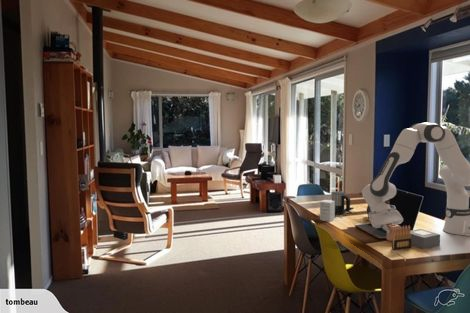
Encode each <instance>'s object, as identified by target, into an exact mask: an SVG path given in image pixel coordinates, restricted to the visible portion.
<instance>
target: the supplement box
mask: <svg viewBox="0 0 470 313" xmlns="http://www.w3.org/2000/svg"><path fill="white" fill-rule="evenodd" d="M335 216H336V214H335V201H332V199H322V200H321V201H319V220H320V221H324V222H329V223H330V222H332V221H335Z"/></svg>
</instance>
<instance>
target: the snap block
mask: <svg viewBox="0 0 470 313" xmlns="http://www.w3.org/2000/svg"><path fill="white" fill-rule="evenodd" d="M397 226H398V227H399V228H400V226H401V225H400V224H398V225H395V224H389V225H387V228H388V229H390V230H391V231H392V232H391V233H389V234H388V233H387V232H386V240H388V241H389V242H390V241H391V242H392V239H393V232H394V227H396V230H397Z"/></svg>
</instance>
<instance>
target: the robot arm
mask: <svg viewBox="0 0 470 313" xmlns="http://www.w3.org/2000/svg"><path fill="white" fill-rule="evenodd" d="M396 138H397V139H396V140H395V143H394V145H393V147H392V149H391V151H390V153H388V156H387V157H386V159H385V160H384V162H383V163H382V166H381V167H380V170H379V171H378V173H377V174H376V176H375V177H374V178H373V179H372V180H371V181H370V183H369V184H367V185H365V186H364V187H363V188H362V190H361V194H362V198H363V200H364V201H365V203H366V204H367V206H368V205H369V206H370V209H371V211H372V212H369V213H368V214H367V218H368V217H369V219H370V220H369V219H368V220H369V222H370V224H371V225H372V228H374V229H379V228H382V229H383V230H384V231H386V234H387V233H388V234H389V233H391V232H392V231H391V230H390V229H388V228H387V225H389V224H395V225H401V224H402V223H403V222H404V218H403V215H401V213H400V211H398V210H397V208H396V205H393V204H392V205H391V204H390V203H389V204H386V203H385V201H387V200H389V201H390V200H391V199H393V198H394V197H395V196H396V195H397V191H398V190H397V187H396V185H395V184H393V183H391V182H390V178H391V177H392V175H393V172H394V171H395V169H396V168H397V167H398V166H399V165H402V164H406V163H407V162H410V161H411V158H412V157H413V155H414V153H415V150H416V148H417V146H418V144H419V143H433V144H434V147H435V150H436V152H437V154H438V156H439V158H440V161H441V162H442V164H443V163H444V165H443V166H441V167H440V170H439V176H440V178H441V179H442V181H443V183H444V186H445V191H446V207H445V221H444V224H443V228H442V231H443V232H444V233H448V234H452V235H460V236H461V235H462V236H464V237H465V236H466V237H470V208H469V206H470V195H469V193H468V192H467V190H466V188H465V187H469V186H470V162H469V161H468V160H467V159H466V157H465V156H464V154H463V153H462V151H461V148H460V146H459V144H458V142H457V140H456V137H455V135H454V134H453V132H452V131H451V130H450V128H449V127H447V126H441V125H440V124H438V123H435V122H421V123H420V122H419V123H415V124H412V125H411V126H410V127H409V128H404V129H402V131H401V132H400V133H399V135H398V137H396Z"/></svg>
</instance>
